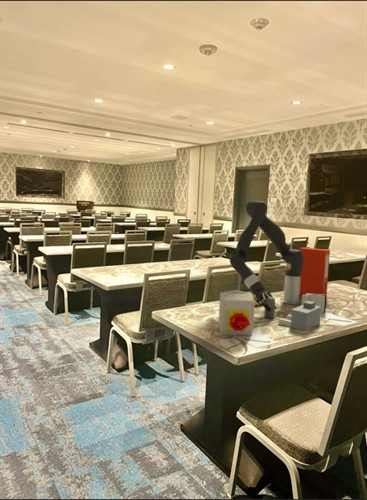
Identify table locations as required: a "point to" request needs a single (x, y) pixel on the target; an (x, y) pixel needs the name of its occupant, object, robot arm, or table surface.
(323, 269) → the file binder
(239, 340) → the table surface
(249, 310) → the electrical switch box
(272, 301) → the dark grey tube
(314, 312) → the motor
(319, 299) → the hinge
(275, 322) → the table surface
